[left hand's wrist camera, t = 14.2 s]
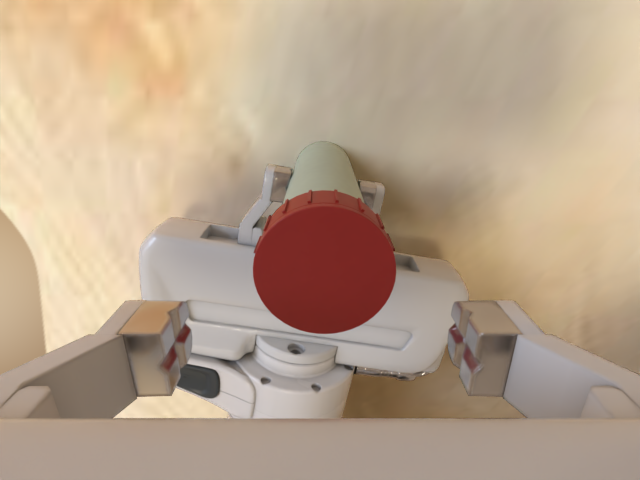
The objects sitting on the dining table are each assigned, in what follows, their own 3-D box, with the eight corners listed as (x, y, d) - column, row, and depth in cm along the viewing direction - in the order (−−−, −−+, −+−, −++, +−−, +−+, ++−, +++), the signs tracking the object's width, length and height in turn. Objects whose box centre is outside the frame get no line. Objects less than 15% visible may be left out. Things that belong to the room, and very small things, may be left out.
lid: (234, 263, 15) (222, 289, 13) (308, 159, 13) (306, 172, 11) (336, 326, 16) (338, 357, 14) (415, 237, 14) (429, 259, 12)
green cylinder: (284, 175, 28) (242, 280, 13) (316, 129, 27) (310, 187, 12) (329, 207, 29) (336, 337, 14) (362, 163, 27) (408, 257, 13)
